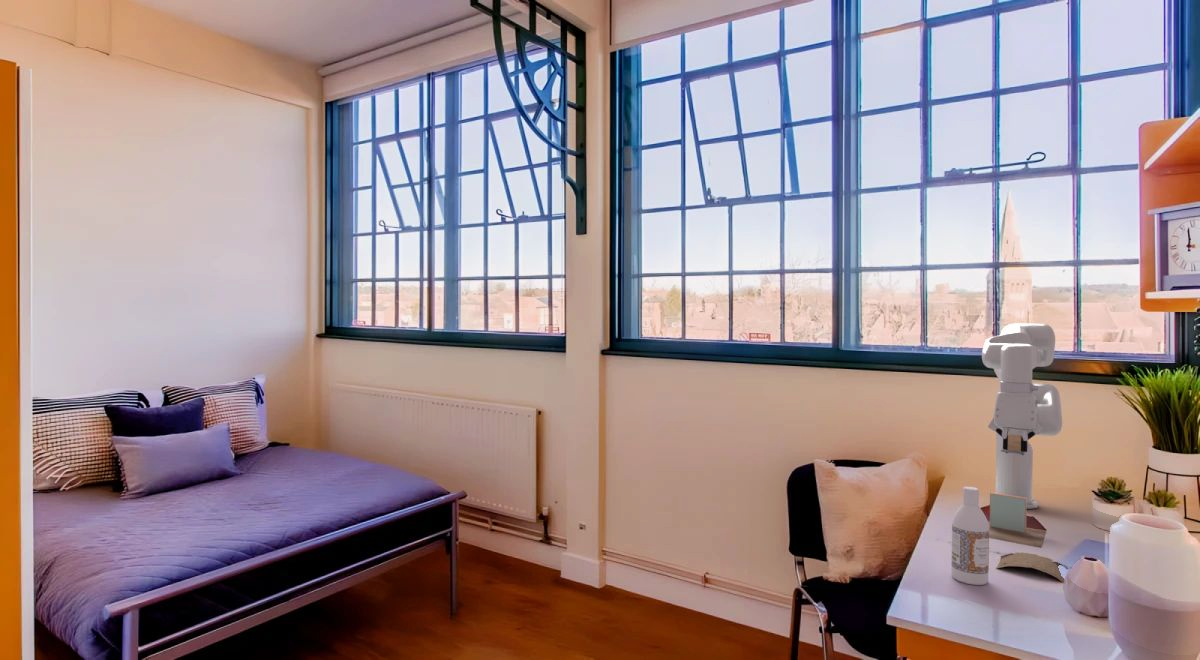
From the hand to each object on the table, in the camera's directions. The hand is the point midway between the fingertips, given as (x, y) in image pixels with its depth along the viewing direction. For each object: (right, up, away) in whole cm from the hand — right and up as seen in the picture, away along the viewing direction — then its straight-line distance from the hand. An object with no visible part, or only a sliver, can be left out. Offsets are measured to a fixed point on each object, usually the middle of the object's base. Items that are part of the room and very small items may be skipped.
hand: (1014, 452), depth 176 cm
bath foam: (-37, -20, -41) cm, 58 cm away
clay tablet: (-19, -21, -34) cm, 44 cm away
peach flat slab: (-9, -18, -11) cm, 23 cm away
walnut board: (-11, -20, -14) cm, 26 cm away
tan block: (-2, 0, -2) cm, 3 cm away
